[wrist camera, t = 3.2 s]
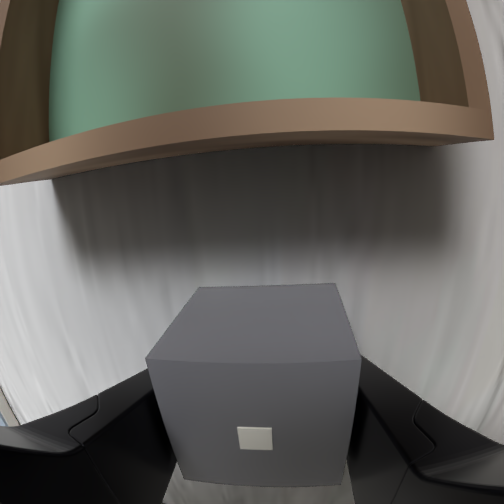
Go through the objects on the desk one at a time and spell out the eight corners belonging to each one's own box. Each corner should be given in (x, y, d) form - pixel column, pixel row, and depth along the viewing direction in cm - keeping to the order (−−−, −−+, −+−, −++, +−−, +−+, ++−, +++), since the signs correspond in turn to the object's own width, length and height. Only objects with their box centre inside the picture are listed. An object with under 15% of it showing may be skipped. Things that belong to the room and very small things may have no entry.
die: (335, 283, 9) (361, 361, 5) (330, 393, 10) (340, 487, 6) (198, 287, 10) (143, 359, 6) (214, 393, 11) (183, 481, 7)
